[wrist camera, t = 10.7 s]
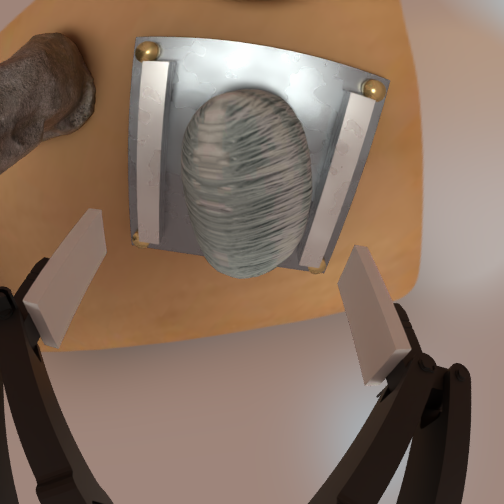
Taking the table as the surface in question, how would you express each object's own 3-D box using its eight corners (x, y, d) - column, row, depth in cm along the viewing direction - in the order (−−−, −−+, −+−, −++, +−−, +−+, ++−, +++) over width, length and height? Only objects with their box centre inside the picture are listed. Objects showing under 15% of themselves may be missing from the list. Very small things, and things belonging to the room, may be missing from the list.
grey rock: (316, 265, 26) (267, 324, 18) (223, 239, 30) (151, 277, 22) (339, 105, 21) (297, 76, 12) (233, 97, 24) (152, 83, 16)
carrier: (135, 238, 30) (126, 255, 28) (141, 37, 18) (127, 36, 16) (322, 266, 32) (326, 285, 30) (384, 78, 20) (399, 83, 18)
